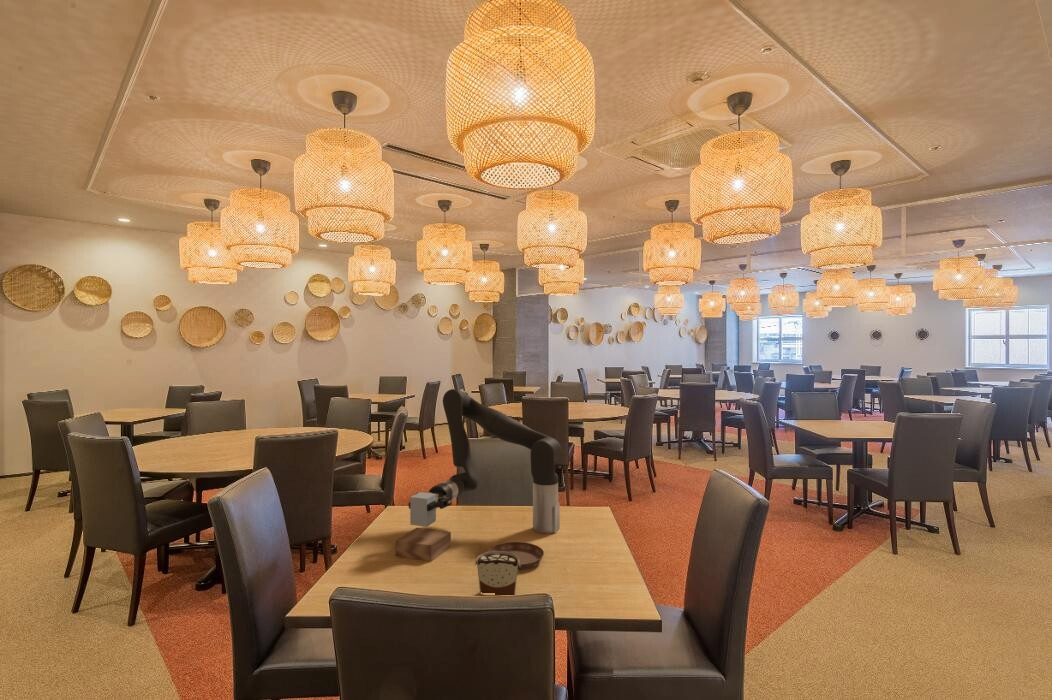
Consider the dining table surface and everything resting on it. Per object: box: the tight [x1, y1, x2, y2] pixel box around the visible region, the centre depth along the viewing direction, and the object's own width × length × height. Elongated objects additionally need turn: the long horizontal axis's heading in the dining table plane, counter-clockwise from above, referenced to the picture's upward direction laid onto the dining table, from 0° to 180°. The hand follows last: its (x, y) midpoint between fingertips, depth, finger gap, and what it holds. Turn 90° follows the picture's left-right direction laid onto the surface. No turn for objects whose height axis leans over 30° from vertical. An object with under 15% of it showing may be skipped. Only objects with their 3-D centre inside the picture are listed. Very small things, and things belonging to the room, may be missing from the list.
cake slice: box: [474, 551, 520, 596], centre depth 147 cm, size 12×6×10 cm, turn 84°
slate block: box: [409, 491, 437, 528], centre depth 175 cm, size 6×6×9 cm
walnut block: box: [394, 527, 452, 562], centre depth 175 cm, size 13×13×5 cm
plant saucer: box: [487, 541, 545, 571], centre depth 168 cm, size 18×18×3 cm
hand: (418, 506), depth 173 cm, fingers closed on slate block, 6 cm apart
